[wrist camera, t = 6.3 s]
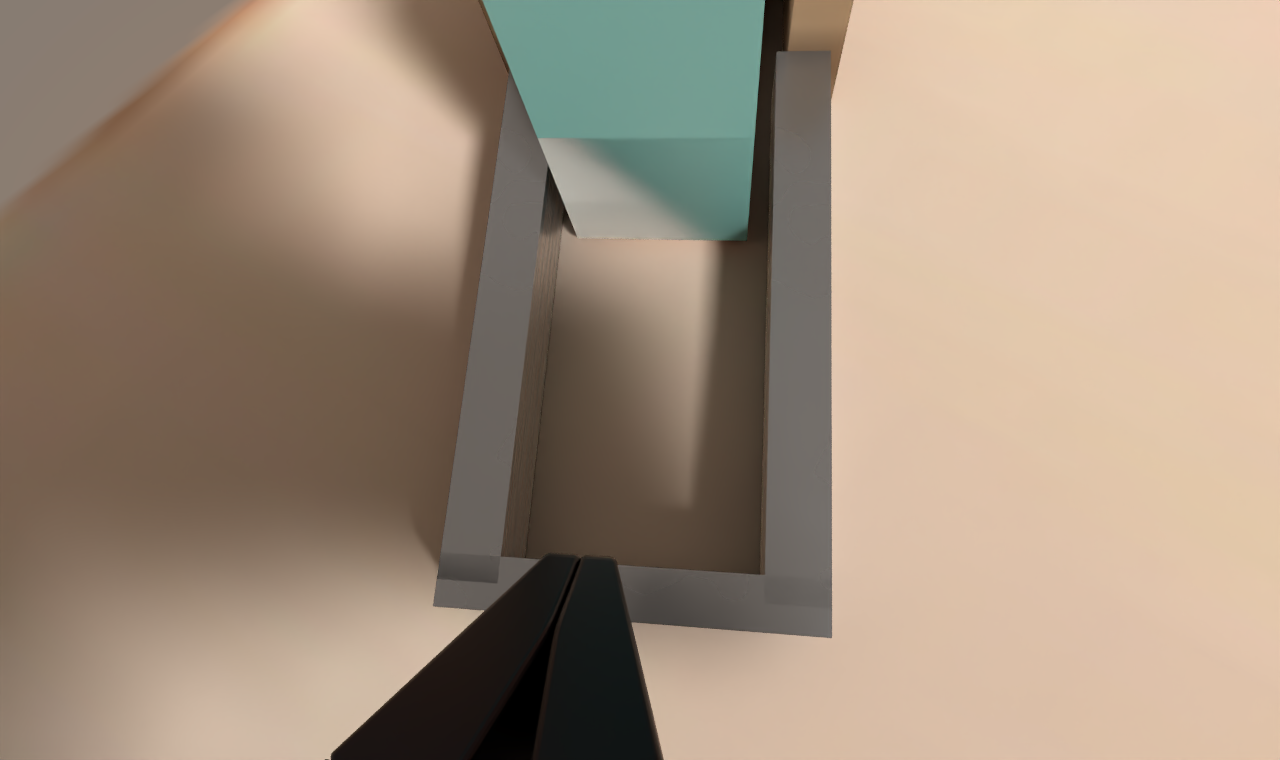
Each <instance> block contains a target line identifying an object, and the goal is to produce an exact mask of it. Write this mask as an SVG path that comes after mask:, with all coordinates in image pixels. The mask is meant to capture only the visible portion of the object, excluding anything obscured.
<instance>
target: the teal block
mask: <svg viewBox="0 0 1280 760" xmlns="http://www.w3.org/2000/svg"><path fill="white" fill-rule="evenodd" d="M482 1H483V3H484V6H485V8H486V11H487V13H488V16H489V18H490V21H491V23H492V26H493V28H494V31H495V33H496V36H497V38H498V41H499V43H500V46H501V48H502V51H503V53H504V56H505V58H506V60H507V63H508V65H509V68H510V70H511V73H512V75H513V78H514V80H515V83H516V85H517V88H518V90H519V93H520V95H521V98H522V100H523V103H524V105H525V108H526V110H527V113H528V115H529V118H530V120H531V123H532V125H533V128H534V130H535V133H536V135H537V138H538V140H539V143H540V145H541V148H542V150H543V153H544V155H545V158H546V160H547V163H548V165H549V168H550V170H551V173H552V175H553V178H554V180H555V183H556V185H557V188H558V190H559V193H560V195H561V198H562V200H563V202H564V205H565V207H566V210H567V212H568V215H569V217H570V220H571V222H572V225H573V227H574V230H575V232H576V235H577V237H578V238H594V239H661V240H728V241H747V231H748V218H749V205H750V192H751V178H752V165H753V152H754V139H755V125H756V112H757V99H758V86H759V72H760V59H761V46H762V33H763V19H764V6H765V0H482Z"/></svg>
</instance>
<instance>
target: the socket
mask: <svg viewBox="0 0 1280 760" xmlns="http://www.w3.org/2000/svg"><path fill="white" fill-rule="evenodd" d="M479 3H480V5H481V8H482V10H483V13H484V15H485V17H486V20H487V22H488V25H489V27H490V30H491V32H492V35H493V37H494V39H495V42H496V44H497V47H498V49H499V52H500V54H501V57H502V59H503V62H504V64H505V66H506V69H507V71H508V74H509V69H510V68H509V65H508V63H507V60H506V58H505V56H504V53H503V51H502V48H501V46H500V43H499V41H498V38H497V36H496V33H495V31H494V28H493V26H492V23H491V21H490V18H489V16H488V13H487V11H486V8H485V6H484V3H483V1H482V0H479ZM852 5H853V0H784V1H783V51H831V98H832V94H833V89H834V85H835V80H836V76H837V71H838V67H839V63H840V58H841V54H842V49H843V45H844V40H845V36H846V31H847V27H848V22H849V18H850V14H851V9H852Z"/></svg>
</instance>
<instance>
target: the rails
mask: <svg viewBox="0 0 1280 760" xmlns="http://www.w3.org/2000/svg"><path fill="white" fill-rule="evenodd" d="M563 212H564V202H563V200H562V198H561V195H560V193H559V190H558V188H557V185H556V183H555V180H554V178H553V175H552V173H551V170H550V168H549V165H548V163H547V160H546V158H545V155H544V153H543V150H542V148H541V145H540V143H539V140H538V138H537V135H536V133H535V130H534V128H533V125H532V123H531V120H530V118H529V115H528V113H527V110H526V108H525V105H524V103H523V100H522V98H521V95H520V93H519V90H518V88H517V85H516V83H515V80H514V78H513V75H512V73H511V70H510V69H509V76H508V83H507V90H506V97H505V105H504V112H503V119H502V126H501V133H500V140H499V147H498V154H497V161H496V168H495V175H494V182H493V189H492V196H491V203H490V210H489V217H488V224H487V231H486V238H485V245H484V252H483V259H482V266H481V273H480V280H479V287H478V294H477V301H476V308H475V315H474V322H473V329H472V336H471V343H470V350H469V357H468V364H467V371H466V378H465V385H464V393H463V400H462V407H461V414H460V421H459V428H458V435H457V442H456V449H455V456H454V463H453V470H452V477H451V484H450V491H449V498H448V505H447V512H446V519H445V526H444V533H443V540H442V547H441V554H440V561H439V568H438V575H437V582H436V589H435V596H434V603H433V606H435V607H448V608H461V609H473V610H486V609H487V608H488V607H489V606H491V605H492V604H493V603H494V602H495V601H496V600H497V599H498V598H499V597H500V596H501V595H502V594H503V593H505V592H506V591H507V590H508V589H509V588H510V587H511V586H512V585H513V584H514V583H515V582H516V581H517V580H519V579H520V578H521V577H522V576H523V575H524V574H525V573H526V572H527V571H528V570H529V569H530V568H531V567H532V566H534V565H535V564H536V563H537V562H538V561H539V560H540V559H528V558H525V555H526V546H527V537H528V528H529V519H530V510H531V501H532V492H533V483H534V474H535V465H536V456H537V447H538V438H539V429H540V420H541V411H542V402H543V393H544V384H545V375H546V366H547V357H548V348H549V339H550V330H551V321H552V312H553V303H554V294H555V285H556V276H557V267H558V258H559V249H560V240H561V231H562V222H563ZM618 569H619V573H620V578H621V582H622V586H623V590H624V594H625V599H626V603H627V607H628V611H629V615H630V620H631V622H637V623H649V624H662V625H674V626H687V627H699V628H712V629H724V630H737V631H750V632H762V633H775V634H787V635H800V636H812V637H825V638H832V425H831V51H777V53H776V63H775V72H774V82H773V91H772V101H771V136H770V177H769V218H768V259H767V300H766V340H765V381H764V422H763V463H762V504H761V544H760V575H756V574H742V573H728V572H713V571H699V570H685V569H671V568H656V567H642V566H628V565H618Z"/></svg>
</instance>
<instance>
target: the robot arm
mask: <svg viewBox="0 0 1280 760" xmlns="http://www.w3.org/2000/svg"><path fill="white" fill-rule="evenodd" d="M325 760H328V759H325ZM331 760H664V759H663V754H662V750H661V746H660V742H659V738H658V733H657V729H656V725H655V721H654V716H653V712H652V708H651V704H650V700H649V695H648V691H647V687H646V683H645V679H644V674H643V670H642V666H641V662H640V658H639V653H638V649H637V645H636V641H635V636H634V632H633V628H632V624H631V620H630V615H629V611H628V607H627V603H626V599H625V594H624V590H623V586H622V582H621V578H620V573H619V569H618V565H617V561H616V560H615V558H613V557H610V556H595V555H586V556H584V557H582V559H581V557H580V556H578V555H577V554H567V553H548V554H546V555H545V556H543V557H542V558H541V559H540V560H539V561H538V562H537V563H536V564H535V565H534V566H532V567H531V568H530V569H529V570H528V571H527V572H526V573H525V574H524V575H523V576H522V577H521V578H520V579H519V580H517V581H516V582H515V583H514V584H513V585H512V586H511V587H510V588H509V589H508V590H507V591H506V592H505V593H503V594H502V595H501V596H500V597H499V598H498V599H497V600H496V601H495V602H494V603H493V604H492V605H491V606H489V607H488V608H487V609H486V610H485V611H484V612H483V613H482V614H481V615H480V616H479V617H478V618H477V619H475V620H474V621H473V622H472V623H471V624H470V625H469V626H468V627H467V628H466V629H465V630H464V631H463V632H461V633H460V634H459V635H458V636H457V637H456V638H455V639H454V640H453V641H452V642H451V643H450V644H449V645H447V646H446V647H445V648H444V649H443V650H442V651H441V652H440V653H439V654H438V655H437V656H436V657H435V658H434V659H432V660H431V661H430V662H429V663H428V664H427V665H426V666H425V667H424V668H423V669H422V670H421V671H420V672H418V673H417V674H416V675H415V676H414V677H413V678H412V679H411V680H410V681H409V682H408V683H407V684H406V685H404V686H403V687H402V688H401V689H400V690H399V691H398V692H397V693H396V694H395V695H394V696H393V697H392V698H390V699H389V700H388V701H387V702H386V703H385V704H384V705H383V706H382V707H381V708H380V709H379V710H378V711H376V712H375V713H374V714H373V715H372V716H371V717H370V718H369V719H368V720H367V721H366V722H365V723H364V724H363V725H361V726H360V727H359V728H358V729H357V730H356V731H355V732H354V733H353V734H352V735H351V736H350V737H349V738H347V739H346V740H345V741H344V742H343V743H342V744H341V745H340V746H339V747H338V748H337V749H336V750H335V751H333V752H332V754H331Z"/></svg>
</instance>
